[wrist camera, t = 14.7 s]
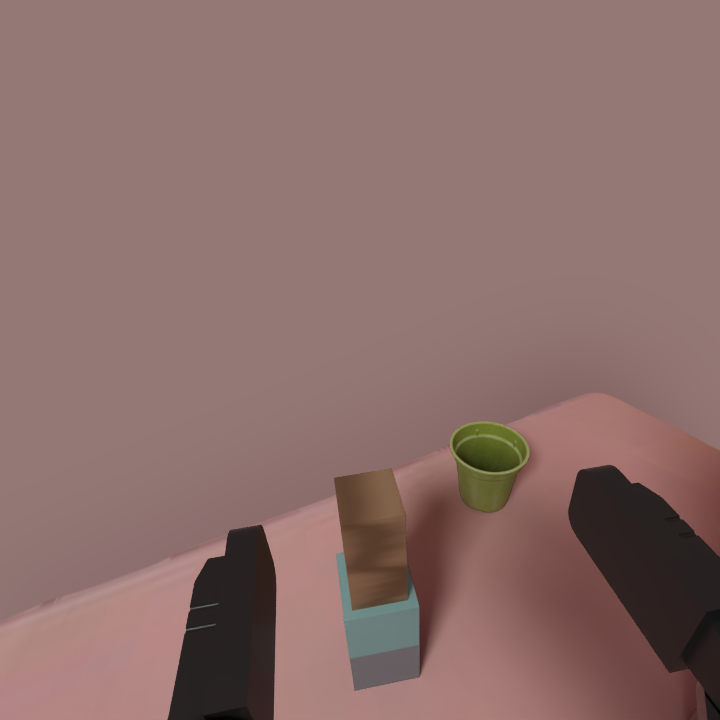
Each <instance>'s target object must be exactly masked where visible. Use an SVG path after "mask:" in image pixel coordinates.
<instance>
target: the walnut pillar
mask: <svg viewBox="0 0 720 720" xmlns="http://www.w3.org/2000/svg"><path fill="white" fill-rule="evenodd" d="M334 481H335V488H336V496H337V503H338V511H339V518H340V526H341V533H342V541H343V548H344V556H345V563H346V570H347V577H348V585H349V592H350V599H351V606H352V611H354V610H360V609H365V608H370V607H375V606H380V605H385V604H390V603H396V602H401V601H406V600H408V595H407V547H406V514H405V510H404V507H403V504H402V501H401V497H400V494H399V491H398V488H397V484H396V481H395V478H394V475H393V471H392V469H386V470H380V471H373V472H367V473H361V474H355V475H349V476H343V477H337V478H334Z"/></svg>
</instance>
